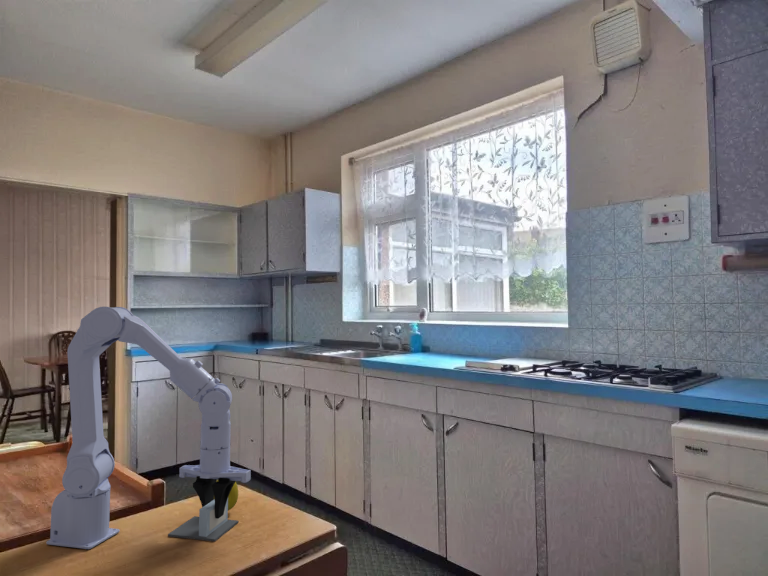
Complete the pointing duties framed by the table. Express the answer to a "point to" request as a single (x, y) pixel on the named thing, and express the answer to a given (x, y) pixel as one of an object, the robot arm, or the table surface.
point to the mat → (192, 530)
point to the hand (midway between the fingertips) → (213, 516)
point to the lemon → (232, 496)
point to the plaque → (210, 519)
